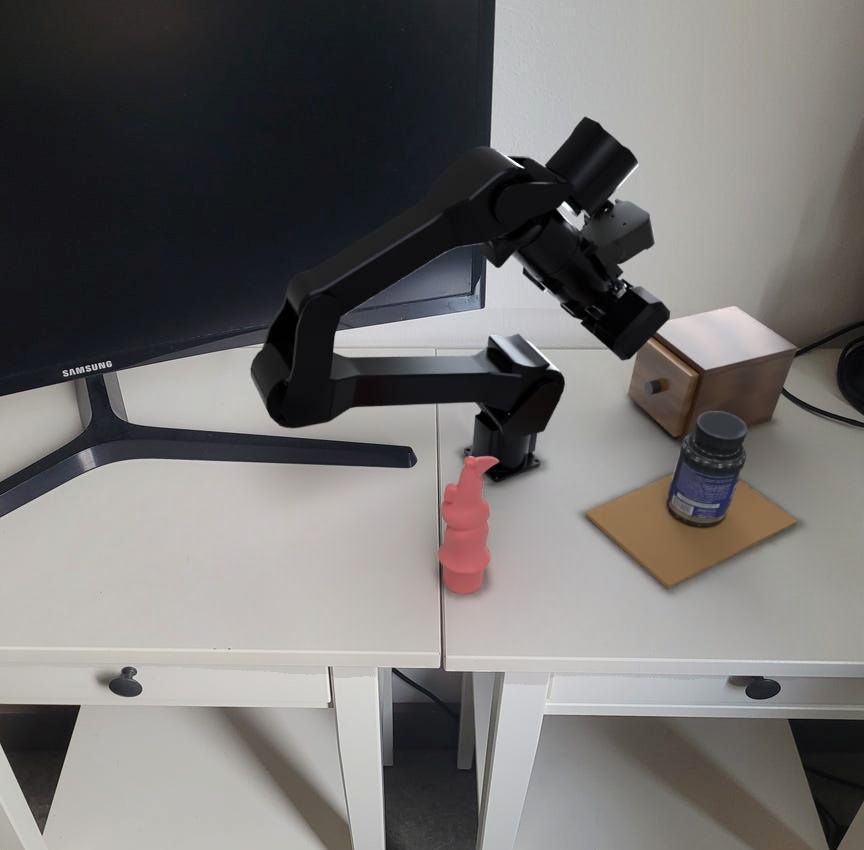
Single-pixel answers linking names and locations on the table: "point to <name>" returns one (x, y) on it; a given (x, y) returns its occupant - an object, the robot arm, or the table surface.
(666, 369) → the drawer
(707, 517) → the pill bottle
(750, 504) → the mat
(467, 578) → the figurine
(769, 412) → the cabinet
